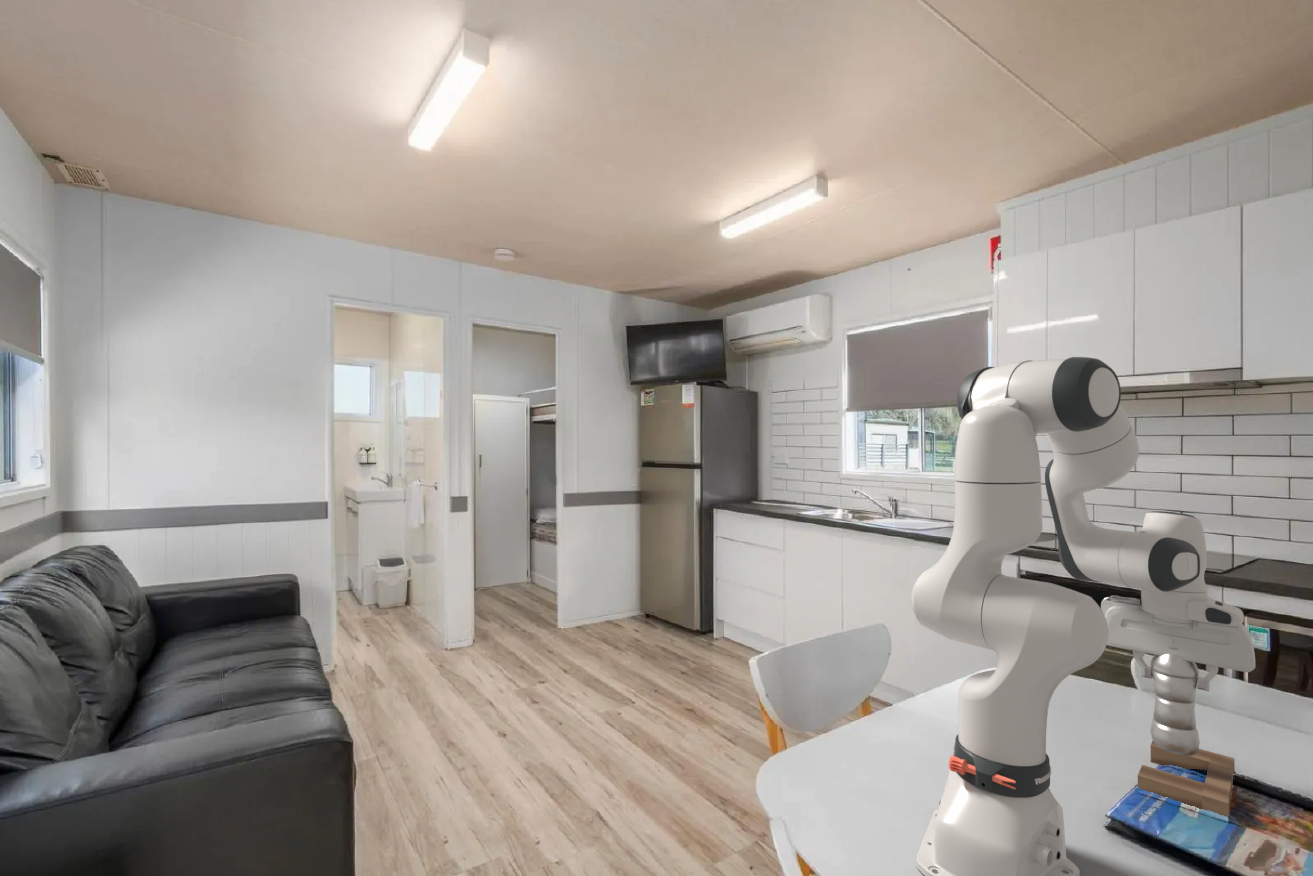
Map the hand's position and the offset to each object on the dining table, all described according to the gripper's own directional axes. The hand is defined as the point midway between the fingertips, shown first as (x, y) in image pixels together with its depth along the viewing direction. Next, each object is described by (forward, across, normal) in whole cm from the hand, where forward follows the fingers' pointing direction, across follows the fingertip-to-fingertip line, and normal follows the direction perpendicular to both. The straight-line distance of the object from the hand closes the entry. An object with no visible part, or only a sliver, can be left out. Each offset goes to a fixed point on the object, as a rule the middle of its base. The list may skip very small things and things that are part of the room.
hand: (1174, 683), depth 104 cm
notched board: (+17, +2, 0) cm, 17 cm away
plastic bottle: (+12, 0, 0) cm, 12 cm away
